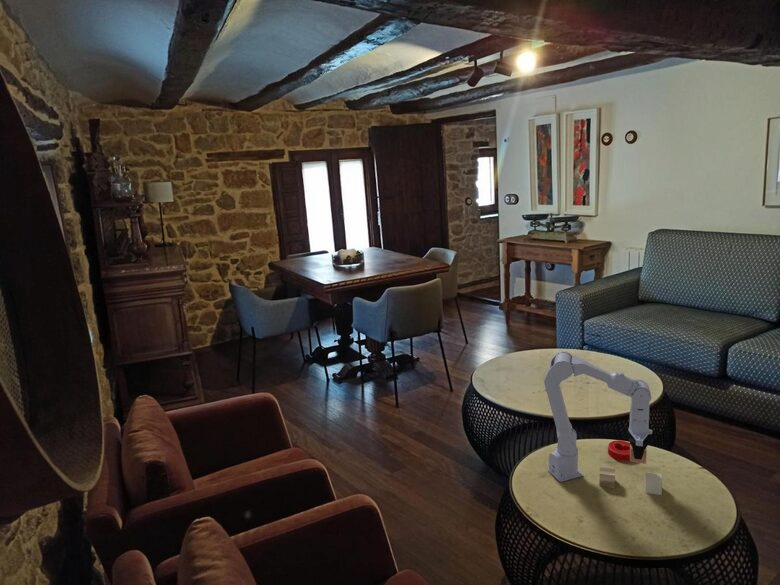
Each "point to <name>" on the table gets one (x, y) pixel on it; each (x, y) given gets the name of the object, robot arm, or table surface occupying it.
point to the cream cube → (653, 483)
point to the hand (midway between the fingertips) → (637, 454)
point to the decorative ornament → (619, 445)
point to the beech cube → (607, 476)
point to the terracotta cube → (637, 459)
